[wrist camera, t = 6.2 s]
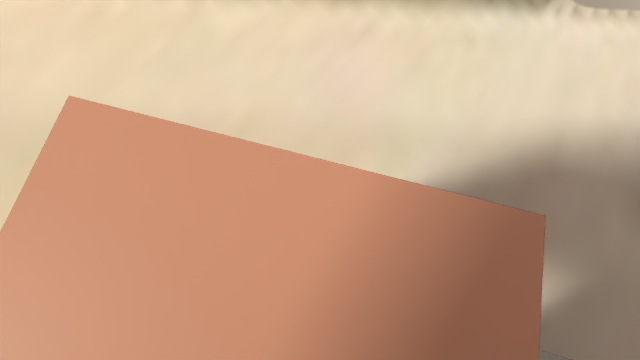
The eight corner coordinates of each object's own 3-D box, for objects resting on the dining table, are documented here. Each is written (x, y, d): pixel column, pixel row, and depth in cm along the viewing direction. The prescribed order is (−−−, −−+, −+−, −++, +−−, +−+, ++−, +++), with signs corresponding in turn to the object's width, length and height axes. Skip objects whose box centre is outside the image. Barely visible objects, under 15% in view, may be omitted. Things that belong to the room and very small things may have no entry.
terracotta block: (323, 387, 14) (508, 988, 2) (203, 357, 14) (-293, 812, 2) (348, 263, 16) (545, 215, 4) (240, 237, 16) (69, 95, 4)
